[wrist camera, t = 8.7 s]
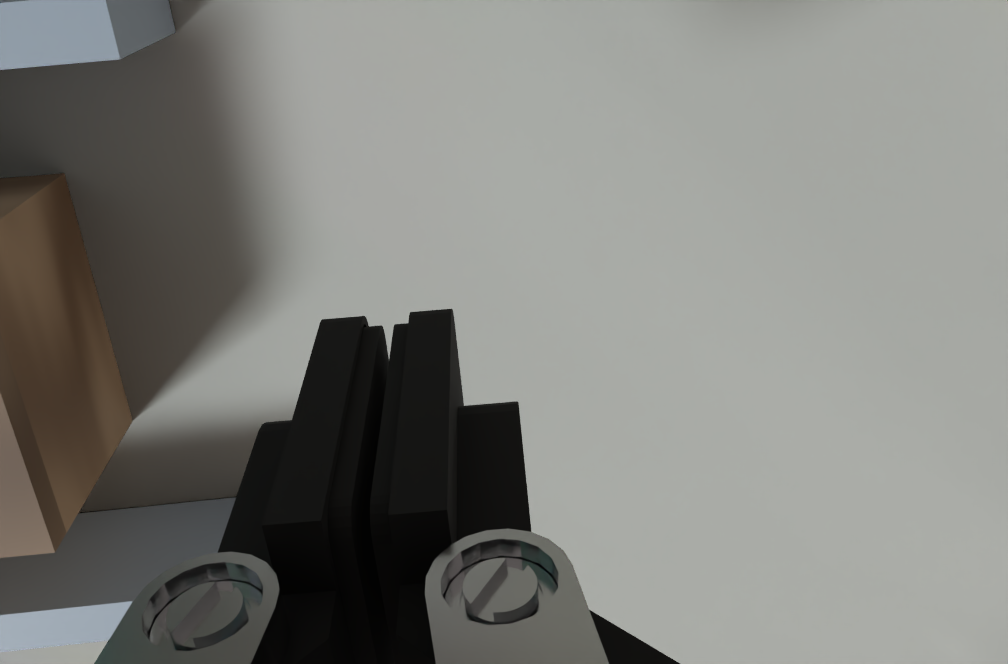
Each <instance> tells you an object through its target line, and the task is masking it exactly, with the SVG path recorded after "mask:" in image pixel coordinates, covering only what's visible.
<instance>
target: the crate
mask: <svg viewBox="0 0 1008 664" xmlns="http://www.w3.org/2000/svg"><path fill="white" fill-rule="evenodd" d="M132 421H133V420H132V416H131V413H130V409H129V406H128V402H127V398H126V395H125V391H124V387H123V384H122V380H121V377H120V373H119V369H118V366H117V362H116V359H115V355H114V351H113V348H112V344H111V340H110V337H109V333H108V330H107V326H106V322H105V319H104V315H103V312H102V308H101V304H100V301H99V297H98V293H97V290H96V286H95V283H94V279H93V275H92V272H91V268H90V264H89V261H88V257H87V254H86V250H85V246H84V243H83V239H82V236H81V232H80V228H79V225H78V221H77V217H76V214H75V210H74V207H73V203H72V199H71V196H70V192H69V188H68V185H67V181H66V178H65V174H64V173H61V174H49V175H36V176H23V177H11V178H0V558H5V557H15V556H26V555H36V554H47V553H55V552H56V550H57V549H58V547H59V545H60V543H61V542H62V540H63V538H64V537H65V535H66V533H67V532H68V530H69V528H70V526H71V525H72V523H73V521H74V520H75V518H76V516H77V515H78V513H79V511H80V509H81V508H82V506H83V504H84V503H85V501H86V499H87V498H88V496H89V494H90V492H91V491H92V489H93V487H94V486H95V484H96V482H97V480H98V479H99V477H100V475H101V474H102V472H103V470H104V469H105V467H106V465H107V463H108V462H109V460H110V458H111V457H112V455H113V453H114V452H115V450H116V448H117V446H118V445H119V443H120V441H121V440H122V438H123V436H124V435H125V433H126V431H127V429H128V428H129V426H130V424H131V423H132Z"/></svg>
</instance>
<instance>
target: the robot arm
mask: <svg viewBox="0 0 1008 664" xmlns="http://www.w3.org/2000/svg"><path fill="white" fill-rule="evenodd" d="M94 664H680V663H678V662H676V661H675V660H673V659H671V658H670V657H668V656H666V655H664V654H663V653H661V652H659V651H658V650H656V649H654V648H653V647H651V646H649V645H648V644H646V643H644V642H643V641H641V640H639V639H638V638H636V637H634V636H633V635H631V634H629V633H627V632H626V631H624V630H622V629H621V628H619V627H617V626H616V625H614V624H612V623H611V622H609V621H607V620H606V619H604V618H602V617H601V616H599V615H597V614H595V613H594V612H592V611H590V610H589V608H588V605H587V603H586V600H585V597H584V595H583V592H582V589H581V587H580V584H579V581H578V578H577V576H576V573H575V570H574V568H573V565H572V564H571V562H570V560H569V559H568V557H567V555H566V554H565V552H564V551H563V550H562V549H561V548H560V547H558V546H557V545H556V544H554V543H553V542H552V541H551V540H549V539H547V538H545V537H542V536H540V535H537V534H535V533H532V532H531V524H530V514H529V504H528V494H527V484H526V474H525V464H524V454H523V444H522V434H521V424H520V414H519V405H518V402H506V403H494V404H482V405H470V406H464V403H463V394H462V385H461V376H460V367H459V358H458V349H457V340H456V332H455V323H454V315H453V310H452V309H444V310H432V311H420V312H410V315H409V323H407V324H395V325H394V330H393V337H392V344H391V352H390V359H389V358H388V352H387V345H386V339H385V333H384V329H383V327H382V326H371V327H369V326H368V322H367V319H366V317H365V316H359V317H347V318H335V319H323V320H321V322H320V325H319V329H318V332H317V335H316V339H315V342H314V346H313V349H312V353H311V356H310V360H309V363H308V367H307V370H306V374H305V377H304V380H303V384H302V387H301V391H300V394H299V398H298V401H297V405H296V408H295V412H294V415H293V419H292V420H290V421H278V422H266V423H264V424H262V426H261V428H260V430H259V432H258V435H257V438H256V440H255V443H254V446H253V449H252V452H251V455H250V458H249V461H248V464H247V467H246V470H245V473H244V476H243V479H242V482H241V485H240V488H239V491H238V494H237V496H236V499H235V502H234V505H233V508H232V511H231V514H230V517H229V520H228V523H227V526H226V529H225V532H224V535H223V538H222V541H221V544H220V547H219V550H218V552H217V553H209V554H206V555H202V556H199V557H195V558H192V559H189V560H186V561H184V562H182V563H180V564H178V565H176V566H174V567H172V568H170V569H168V570H166V571H164V572H163V573H162V574H160V575H159V576H158V577H156V578H155V579H154V580H152V581H151V582H150V583H149V584H147V585H146V586H145V587H144V589H143V590H142V591H141V592H140V593H139V595H138V596H137V597H136V598H135V600H134V601H133V602H132V604H131V605H130V607H129V608H128V610H127V612H126V613H125V615H124V616H123V618H122V620H121V621H120V623H119V624H118V626H117V628H116V629H115V631H114V633H113V634H112V636H111V637H110V639H109V641H108V642H107V644H106V645H105V647H104V649H103V650H102V652H101V654H100V655H99V657H98V658H97V660H96V662H95V663H94Z"/></svg>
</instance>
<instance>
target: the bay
mask: <svg viewBox="0 0 1008 664" xmlns="http://www.w3.org/2000/svg"><path fill="white" fill-rule="evenodd" d="M174 33H176V31H175V27H174V22H173V18H172V13H171V9H170V4H169V0H0V70H5V69H16V68H28V67H39V66H50V65H62V64H73V63H85V62H96V61H107V60H119V59H122V58H124V57H126V56H128V55H130V54H132V53H134V52H136V51H139V50H141V49H143V48H145V47H147V46H149V45H151V44H153V43H155V42H157V41H159V40H161V39H163V38H165V37H167V36H169V35H171V34H174ZM235 499H236V497H234V498H225V499H215V500H205V501H195V502H186V503H176V504H166V505H157V506H147V507H137V508H128V509H118V510H108V511H99V512H89V513H79V514H78V515H77V516H76V518H75V520H74V521H73V523H72V525H71V526H70V528H69V530H68V532H67V533H66V535H65V537H64V538H63V540H62V542H61V543H60V545H59V547H58V549H57V550H56V552H55V553H47V554H36V555H26V556H15V557H5V558H0V652H6V651H16V650H25V649H34V648H44V647H53V646H62V645H71V644H81V643H90V642H99V641H109V639H110V637H111V636H112V634H113V633H114V631H115V629H116V628H117V626H118V624H119V623H120V621H121V620H122V618H123V616H124V615H125V613H126V612H127V610H128V608H129V607H130V605H131V604H132V602H133V601H134V600H135V598H136V597H137V596H138V595H139V593H140V592H141V591H142V590H143V589H144V587H145V586H146V585H147V584H149V583H150V582H151V581H152V580H154V579H155V578H156V577H158V576H159V575H160V574H162V573H163V572H164V571H166V570H168V569H170V568H172V567H174V566H176V565H178V564H180V563H182V562H184V561H186V560H189V559H192V558H195V557H199V556H202V555H206V554H209V553H217V552H218V550H219V547H220V544H221V541H222V538H223V535H224V532H225V529H226V526H227V523H228V520H229V517H230V514H231V511H232V508H233V505H234V502H235Z"/></svg>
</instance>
